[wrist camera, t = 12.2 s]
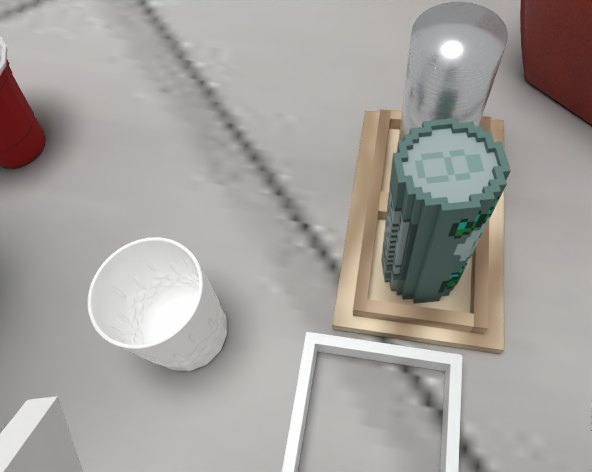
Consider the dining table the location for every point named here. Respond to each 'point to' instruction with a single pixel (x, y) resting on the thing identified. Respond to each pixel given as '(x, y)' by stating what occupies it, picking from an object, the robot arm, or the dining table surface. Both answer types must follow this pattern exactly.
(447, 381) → the frame
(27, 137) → the plastic cup
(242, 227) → the dining table surface
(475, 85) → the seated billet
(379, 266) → the wooden tray
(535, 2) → the plant pot
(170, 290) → the white cup
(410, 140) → the can
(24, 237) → the dining table surface
